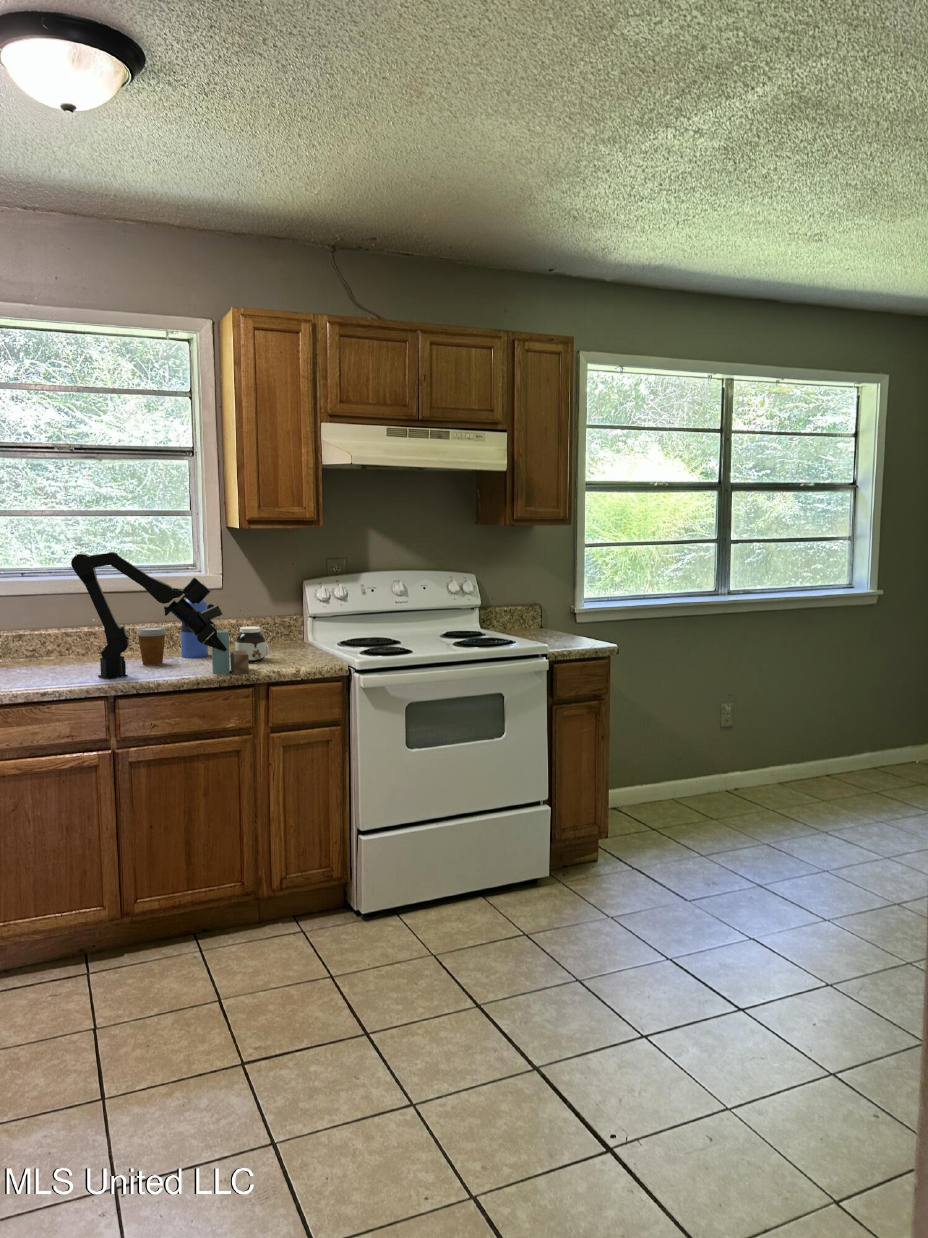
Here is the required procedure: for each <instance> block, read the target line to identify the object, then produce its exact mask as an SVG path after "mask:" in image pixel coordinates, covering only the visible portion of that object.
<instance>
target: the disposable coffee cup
mask: <svg viewBox="0 0 928 1238" xmlns="http://www.w3.org/2000/svg"><path fill="white" fill-rule="evenodd" d="M167 632H168V631H167V630H166V627H164V626H145V627H138V628H137V631H136V636H137V638H138V642H139V643H138V644H139V650H140V654H141V655H140V656H141V661H142V665H144V666H158V665H163V662H164V651H165V641H166V635H167Z"/></svg>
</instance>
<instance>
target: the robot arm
mask: <svg viewBox="0 0 928 1238" xmlns="http://www.w3.org/2000/svg"><path fill="white" fill-rule="evenodd" d="M70 561H71V562H70V564H71V569H72V570H73V571H74V574H76V575H77V577H78V578H79V579H80V581H81V582H82V583H83V585H84V586H85V589H86V590H87V593H88V595H89V597H90V599H91V601H92V603H93V607H94V608H95V611H96V613H97V614H98V618H99V619H100V621H101V624H102V626H103V629H104V633H105V634H104V635H105V639H106V643H107V644H106V645H105V646H104V647H103V648H102V650H101V652H100V655H101V657H100V658H99V660H100V661H99V663H100V664H99V665H100V674H99V675H97V677H98V678H102V679H106V680H107V679H108V680H111V679H119V678H123V677H124V678H125V677H128V676H129V675H128V674H126V673H127V671H126V670H127V668H126V667H127V665H126V664H127V663H126V660H125V656H124V655H122V653H124V652H125V651H126V650H127V649H128V646H129V644H130V643H129V642H130V640H129V639H130V635H129V633H128V632H127V630H126V625H125V624H122V625H119V623H118V622H117V621H116V618H115V616H114V614H113V612H112V609H111V607H110V605H109V603H108V601H107V599H106V596H105V594H104V591H103V590H102V589H103V588H102V587H101V584H100V583H99V580H98V576H97V570H96V568H100V567H105V566H107V567H108V566H111V567H112V568H114V569H116V570H117V571H119V572H120V573H121V574H122V575H124V576H125V577H128V578H129V579H130V580H132V581H134V582H135V583H136V584H139V586H142V588H144V589H145V590H146V591H147V592H148V594H150V596H152V597H153V598H154V599H155V601H156V602H158V603H160V604H164V606H163V609H164V616H168V615H169V614H170V613H172V614H173V615H174V616H175V617H176V618H177V619H178V620H180V622H181V623H182V622H183V623H184V625H185V626H186V627H188V628H189V629H190V630H191V631H193V632H194V634H195V635H196V636H197V640H198V641H199V642H200V643H201V644H202V643H203V644H204V645H207V646H208V647H210V648H212V647H213V648H216V649H218V650H221V651H224V652H225V651H226V650H227V648H226V647H225V646H224V644H223V643H222V642H221V641H220V639H219V638H218V637H217V631H218V629H217V628H216V624H215V622H214V621H213V620H214V619H215V618H217V617H221V616H222V615H223V612H222V610H221V608H220V606H219V604H215V605H214V604H212V603H210V604H207V610H205V611H203V612H200V611H199V610H196V609H195V608H194V607H192V606H191V605H190V604H189V603H188V602H187V601H186V599H188V600H189V601H190V602H191V603H192V604H195V603H197V604H199V603H200V602H201V601H202V600H203V601H204V599H206V597H207V596H208V595H209V594H210V593H211V592H212V591H211V590H210V589H209V588H208V587H207V586H206V585H205V584H204V583H202V582H201V581H200V580H199V579H198V578H196V576H195V577H192V579H191V580H190V582H189V583H188V584H187V585H186V586H185V587H183V588H175V587H172V586H171V585H169V584H168V583H165V582H163V581H162V580H159V579H156V578H154V577H152V576H150V575H148V574H146V573H145V572H144V571H143V570H141V569H140V568H138V567H136V566H135V565H133V564H132V563H130V562H129V561H127V560H126V559H125V558H123V557H121V556H120V555H119V554H118V553H117V552H115V551H110V552H107V553H97V554H91V555H90V554H87V553H85V552H81V553H78V554H75V556H73V557H72V558H71V560H70ZM178 598H179V599H178ZM175 599H178V600H175ZM165 604H169V605H167V606H165Z"/></svg>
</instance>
